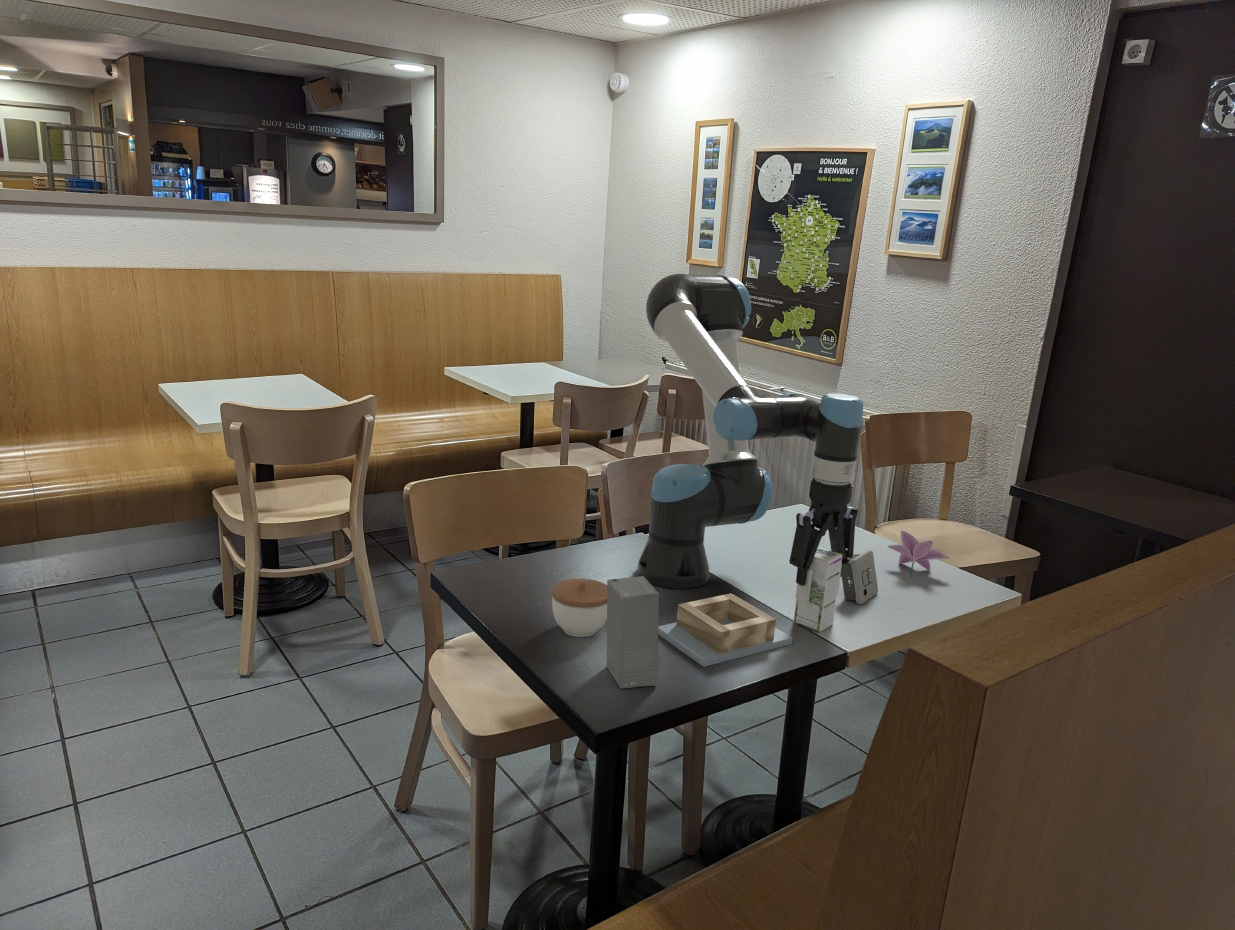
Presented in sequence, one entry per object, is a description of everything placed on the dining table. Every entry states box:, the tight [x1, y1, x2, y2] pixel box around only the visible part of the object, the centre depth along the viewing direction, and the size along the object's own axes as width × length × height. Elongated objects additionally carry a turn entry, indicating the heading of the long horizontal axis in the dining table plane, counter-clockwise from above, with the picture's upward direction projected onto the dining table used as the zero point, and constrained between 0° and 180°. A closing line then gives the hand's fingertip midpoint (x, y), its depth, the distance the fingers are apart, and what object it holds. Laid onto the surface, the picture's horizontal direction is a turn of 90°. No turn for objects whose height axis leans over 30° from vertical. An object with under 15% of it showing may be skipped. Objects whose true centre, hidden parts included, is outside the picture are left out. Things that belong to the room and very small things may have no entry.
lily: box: [887, 530, 950, 579], centre depth 192 cm, size 12×12×10 cm
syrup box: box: [793, 546, 842, 633], centre depth 161 cm, size 6×6×14 cm
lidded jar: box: [551, 578, 607, 638], centre depth 153 cm, size 11×11×9 cm
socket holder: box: [658, 593, 793, 668], centre depth 154 cm, size 20×14×5 cm
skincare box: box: [606, 576, 660, 689], centre depth 137 cm, size 8×7×16 cm
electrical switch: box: [841, 550, 879, 605], centre depth 177 cm, size 9×5×9 cm, turn 141°
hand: (816, 596), depth 162 cm, fingers open, 7 cm apart
